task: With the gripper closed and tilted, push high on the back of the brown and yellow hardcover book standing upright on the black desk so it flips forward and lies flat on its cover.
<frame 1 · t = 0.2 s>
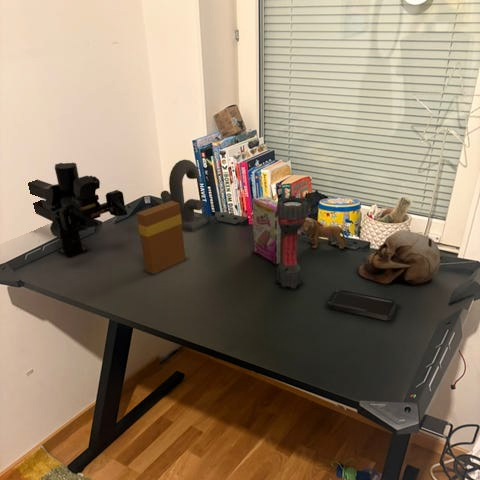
hand: (112, 218, 126), 17 cm above the table, tool horizontal, fingers open, 9 cm apart
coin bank: (395, 277, 129), on the table
faucet: (187, 219, 170), on the table
candy bar box: (270, 257, 142), on the table
flashlight: (290, 285, 127), on the table
book: (165, 264, 140), on the table
lion figurine: (322, 247, 146), on the table
phone: (361, 307, 117), on the table
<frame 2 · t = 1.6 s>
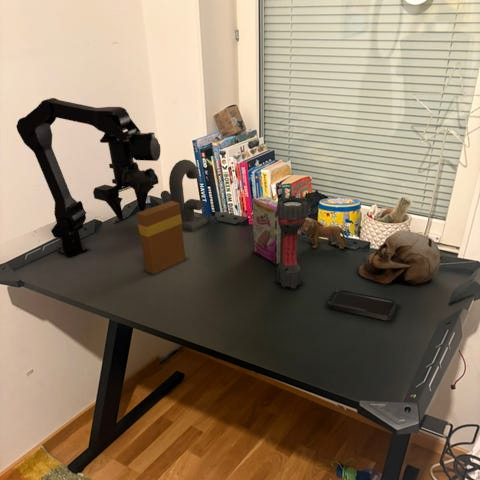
hand: (132, 215, 137), 13 cm above the table, tool pointing down, fingers open, 8 cm apart
nothing on the table moved.
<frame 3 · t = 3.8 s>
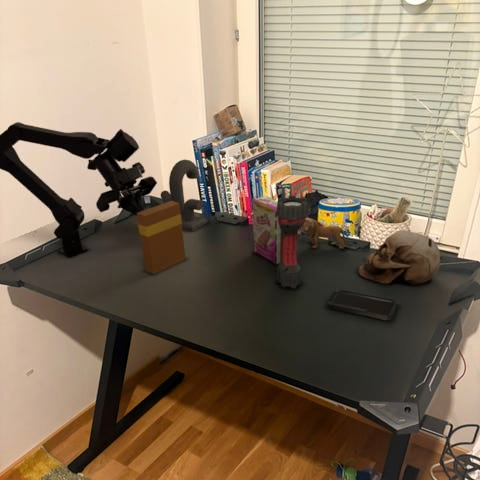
hand: (145, 218, 136), 13 cm above the table, tool tilted 45°, fingers closed
nothing on the table moved.
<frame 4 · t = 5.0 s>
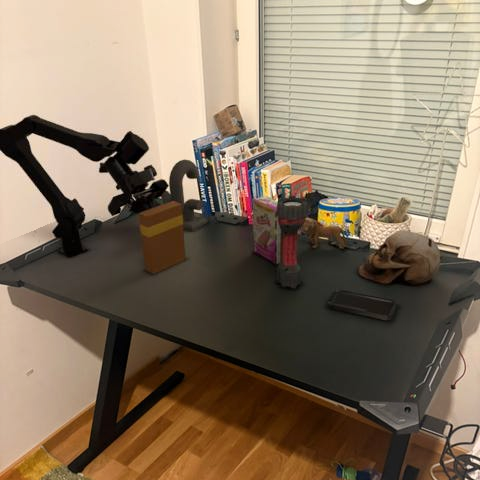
hand: (157, 221, 134), 13 cm above the table, tool tilted 45°, fingers closed
book: (165, 264, 140), on the table, touching gripper
everything else where it was.
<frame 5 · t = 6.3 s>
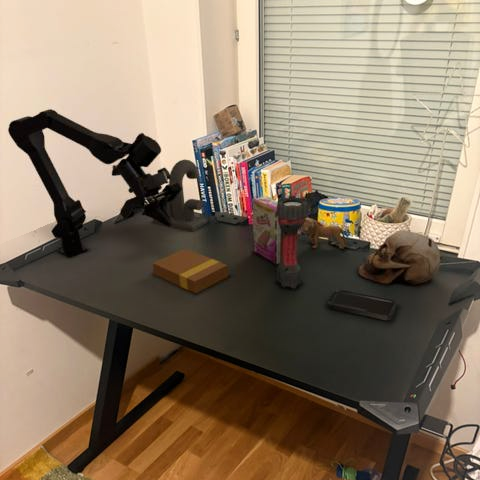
hand: (170, 225, 131), 13 cm above the table, tool tilted 45°, fingers closed
book: (170, 261, 138), point 2 cm above the table, tilted 90°
everything else where it was.
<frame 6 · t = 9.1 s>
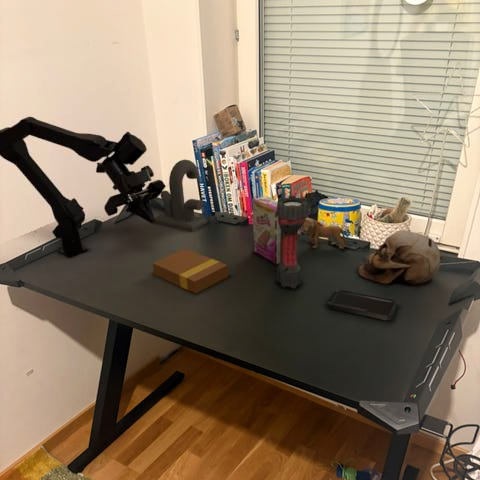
hand: (153, 222, 134), 12 cm above the table, tool tilted 45°, fingers closed
nothing on the table moved.
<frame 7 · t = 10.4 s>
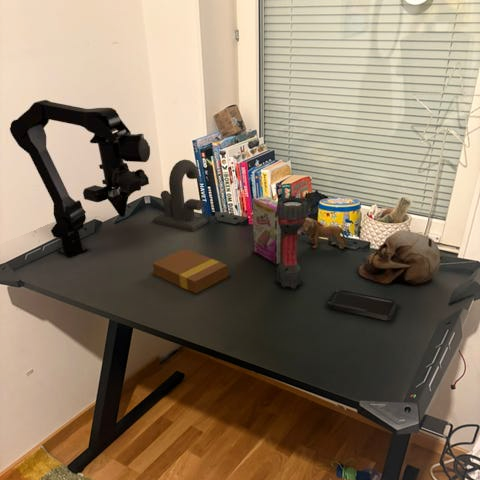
hand: (122, 216, 137), 13 cm above the table, tool pointing down, fingers closed
nothing on the table moved.
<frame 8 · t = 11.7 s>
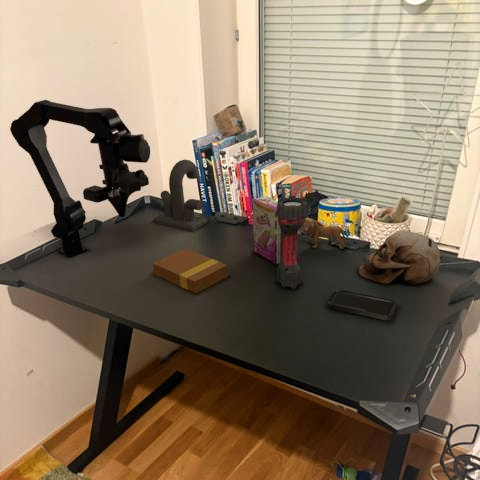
hand: (122, 216, 137), 13 cm above the table, tool pointing down, fingers closed
nothing on the table moved.
at the end: book tilted 90°; book inside the target area (3.9 cm from its centre), point 1.8 cm above the table; the gripper is holding nothing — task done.
